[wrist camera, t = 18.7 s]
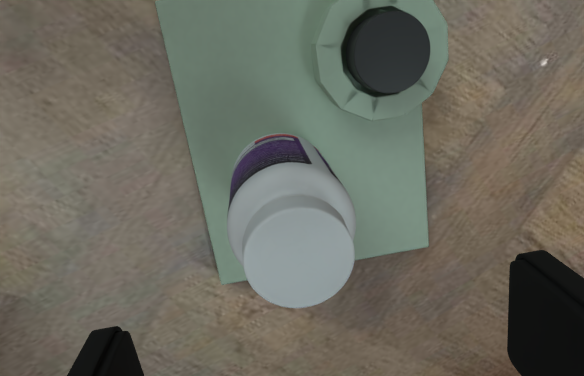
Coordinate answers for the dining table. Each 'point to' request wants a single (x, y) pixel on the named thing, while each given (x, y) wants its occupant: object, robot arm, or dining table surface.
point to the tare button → (388, 52)
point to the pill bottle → (290, 221)
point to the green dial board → (302, 107)
